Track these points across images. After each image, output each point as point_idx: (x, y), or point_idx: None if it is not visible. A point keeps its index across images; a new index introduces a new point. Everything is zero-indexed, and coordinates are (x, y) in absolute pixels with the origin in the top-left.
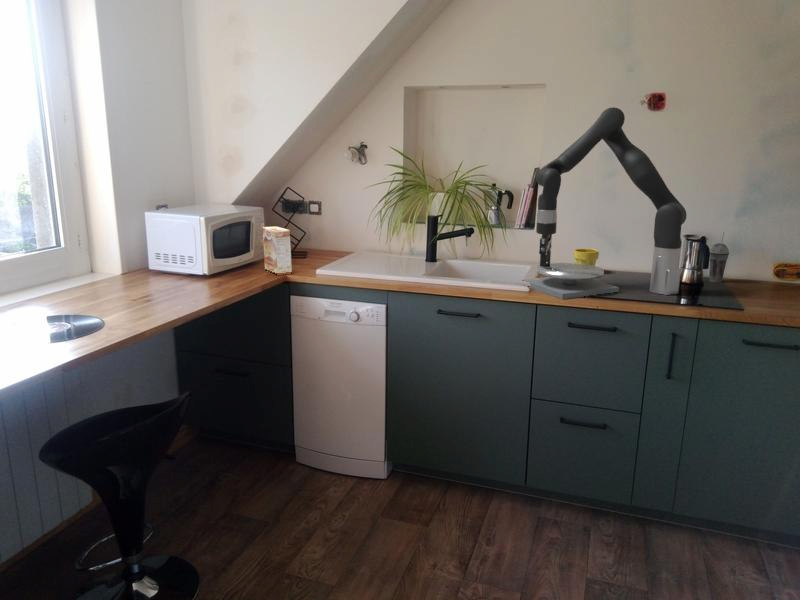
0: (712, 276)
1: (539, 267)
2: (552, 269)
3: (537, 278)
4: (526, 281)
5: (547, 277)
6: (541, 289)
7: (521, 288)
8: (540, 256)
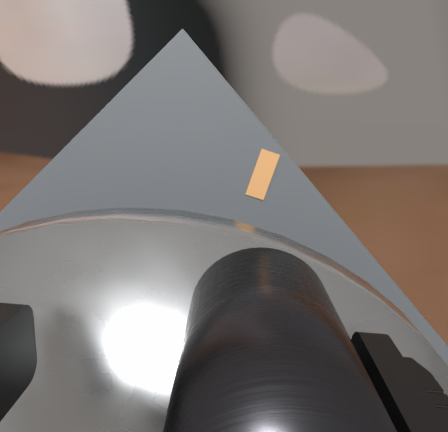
0: None
1: (98, 258)
2: (32, 406)
3: (297, 181)
4: (123, 92)
5: (367, 262)
6: None
7: (43, 61)
8: (230, 327)
